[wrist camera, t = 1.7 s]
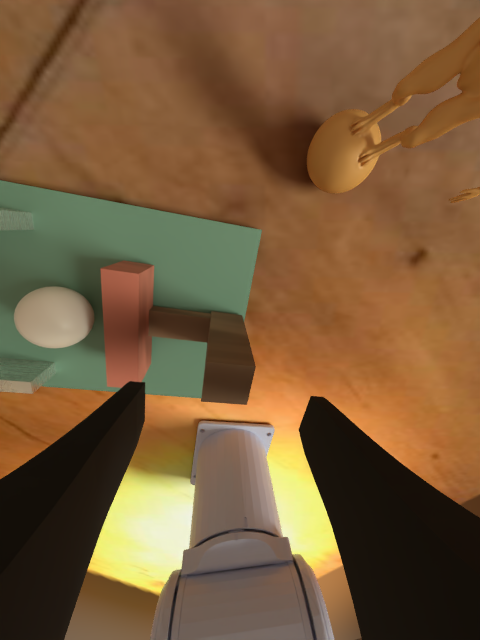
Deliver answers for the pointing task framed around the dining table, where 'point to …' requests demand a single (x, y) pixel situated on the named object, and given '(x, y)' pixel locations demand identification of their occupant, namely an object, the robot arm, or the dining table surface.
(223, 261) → the board
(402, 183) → the dining table surface
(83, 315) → the ball
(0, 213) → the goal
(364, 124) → the figurine
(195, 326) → the striker
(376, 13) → the dining table surface
